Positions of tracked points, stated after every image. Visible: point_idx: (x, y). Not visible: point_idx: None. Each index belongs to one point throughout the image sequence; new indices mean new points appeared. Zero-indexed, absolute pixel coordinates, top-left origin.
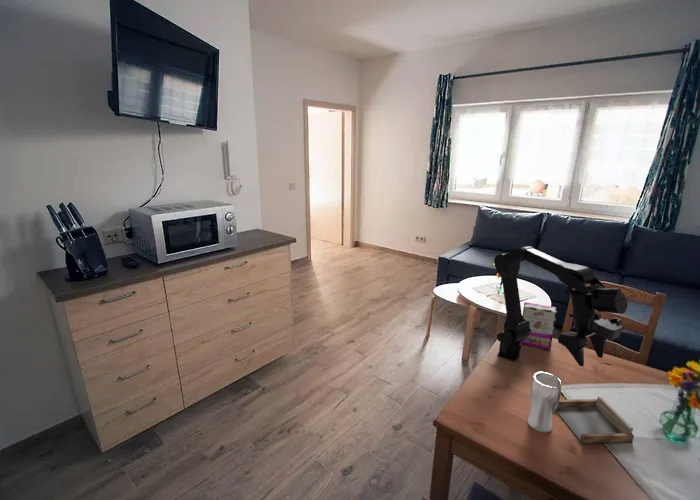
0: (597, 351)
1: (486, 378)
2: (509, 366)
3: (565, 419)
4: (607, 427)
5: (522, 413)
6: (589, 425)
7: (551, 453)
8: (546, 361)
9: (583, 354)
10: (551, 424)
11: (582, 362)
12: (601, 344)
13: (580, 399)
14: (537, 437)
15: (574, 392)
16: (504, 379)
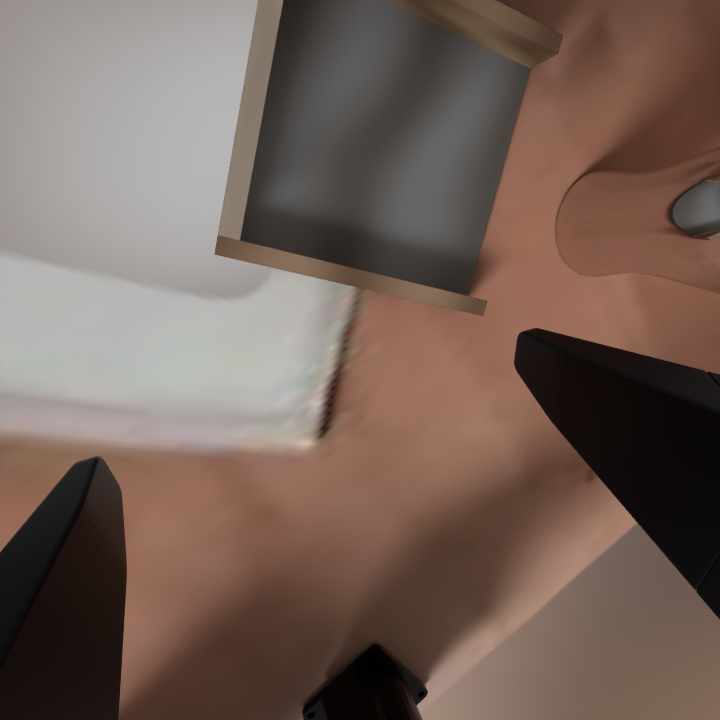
0: (109, 569)
1: (579, 527)
2: (428, 606)
3: (483, 206)
4: (319, 76)
5: (607, 302)
6: (403, 129)
7: (676, 68)
8: (190, 651)
9: (695, 398)
10: (605, 178)
11: (590, 342)
12: (7, 712)
13: (333, 281)
14: (657, 162)
15: (250, 381)
16: (517, 516)
